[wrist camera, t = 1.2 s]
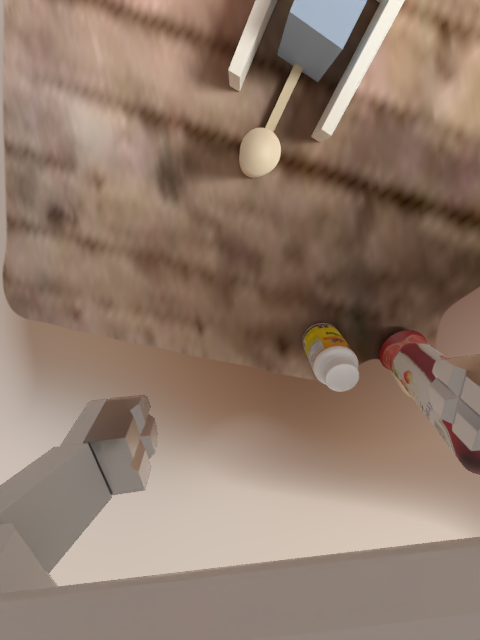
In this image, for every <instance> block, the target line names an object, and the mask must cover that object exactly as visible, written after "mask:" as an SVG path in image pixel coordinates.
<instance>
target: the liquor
mask: <svg viewBox="0 0 480 640" xmlns="http://www.w3.org/2000/svg"><path fill="white" fill-rule="evenodd" d="M379 358H380V361H381V363H382V364H383V366H384V367H386V368H387V369H389V370H391V371H392V372H393V373H394V374H395V376H396V377H397V378H398V379H399V381H400V382H401V383H402V384H403V386H404V387H405V388H406V390H407V391H408V392H409V394H410V395H411V396H412V397H413V399H414V400H415V401H416V403H417V404H418V406H419V407H420V408H421V410H422V411H423V412H424V414H425V415H426V417H427V418H428V419H429V421H430V422H431V424H432V425H433V426H434V428H435V429H436V430H437V432H438V433H439V434H440V436H441V437H442V438H443V439H444V441H445V442H446V443H447V445H448V446H449V447H450V449H451V450H452V451H453V452H454V454H455V455H456V457H457V458H458V459H459V461H460V462H461V463H462V465H463V466H464V467H465V468H466V469H467V470H469V471H471V472H473V473H476V474H479V475H480V450H478V451H471V450H470V449H469V448H468V447H467V446H466V445H465V444H464V443H463V442H462V441H461V440H460V439H459V438H458V437H457V435H456V434H455V433H454V432H453V431H452V424H451V423H449V422H447V421H445V420H443V419H441V418H440V417H439V416H438V415H437V414H436V413H435V412H434V410H433V408H432V406H431V404H430V400H429V396H428V393H429V386H430V384H431V383H432V382H433V381H434V380H435V379H436V377H435V375H434V374H433V373H432V370H433V366H434V364H435V362H436V361H437V360H438V359H446V357H445V356H444V355H442V354H441V353H440V352H438V351H437V350H436V349H434V348H433V347H432V346H430V345H429V344H428V343H427V342H426V339H425V337H424V336H423V335H422V334H420V333H419V332H416V331H411V330H406V331H401V332H398V333H395V334H394V335H392V336H390V337H389V338H388V339H387V340H386V341H385V342H384V343H383V345H382V347H381V349H380V353H379Z"/></svg>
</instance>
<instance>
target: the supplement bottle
mask: <svg viewBox="0 0 480 640" xmlns="http://www.w3.org/2000/svg"><path fill="white" fill-rule="evenodd" d="M302 344H303V347H304V350H305V353H306V355H307V357H308V360H309V362H310V365H311V367H312V369H313V372H314V374H315V376H316V378H317V379H318V380H319V381H320V382H322V383H324V384H326V385H327V386H328V387H329V388H330V389H332V390H334V391H338V392H342V391H347V390H349V389H351V388H352V387H354V386H355V385H356V383H357V382H358V380H359V372H358V359H357V357H356V355H355V353H354V352H353V351H352V349H351V348H350V346H349V345H348V344H347V342H346V341H345V339H344V338H343V337H342V335H341V334H340V332H339V331H338V330H337V329H336V328H335V327H334V326H333V325H331V324H328V323H318V324H315V325H313V326H311V327H310V328H308V329H307V330H306V332H305V333H304V335H303V339H302Z"/></svg>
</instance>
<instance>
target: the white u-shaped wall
mask: <svg viewBox="0 0 480 640" xmlns="http://www.w3.org/2000/svg"><path fill="white" fill-rule="evenodd" d="M377 1H378V2H379V3H380V4H379V6H378V8H377V10H376V12H375V14H374V16H373V18H372V20H371V22H370V24H369V25H368V27H367V29H366V31H365V33H364V35H363V37H362V39H361V41H360V43H359V45H358V47H357V49H356V51H355V52H354V54H353V56H352V58H351V60H350V62H349V64H348V66H347V68H346V70H345V72H344V74H343V76H342V78H341V79H340V81H339V83H338V85H337V87H336V89H335V91H334V93H333V95H332V97H331V99H330V101H329V103H328V104H327V106H326V108H325V110H324V112H323V114H322V116H321V118H320V120H319V122H318V124H317V126H316V128H315V130H314V131H313V133H312V135H311V137H312V138H314V139H315V140H317V141H318V142H321V141H323V140H325V139H326V138H328V137H330V136H331V135H332V134H333V132H334V130H335V128H336V126H337V124H338V123H339V121H340V119H341V117H342V115H343V113H344V111H345V110H346V108H347V106H348V104H349V102H350V100H351V99H352V97H353V95H354V93H355V91H356V89H357V87H358V86H359V84H360V82H361V80H362V78H363V76H364V75H365V73H366V71H367V69H368V67H369V65H370V64H371V62H372V60H373V58H374V56H375V54H376V52H377V51H378V49H379V47H380V45H381V43H382V41H383V40H384V38H385V36H386V34H387V32H388V30H389V28H390V27H391V25H392V23H393V21H394V19H395V17H396V16H397V14H398V12H399V10H400V8H401V6H402V4H403V3H404V1H405V0H377ZM276 3H277V0H255V3H254V5H253V8H252V11H251V13H250V16H249V18H248V21H247V23H246V26H245V28H244V31H243V34H242V36H241V39H240V41H239V44H238V46H237V49H236V51H235V54H234V57H233V59H232V62H231V64H230V67H229V69H228V72H229V86H231V87H232V88H234V89H236V90H237V91H239V92H240V90H241V87H242V85H243V83H244V80H245V78H246V75H247V73H248V70H249V68H250V66H251V63H252V61H253V58H254V56H255V53H256V51H257V49H258V46H259V44H260V41H261V39H262V37H263V34H264V32H265V29H266V27H267V24H268V22H269V20H270V17H271V15H272V12H273V10H274V7H275V5H276Z"/></svg>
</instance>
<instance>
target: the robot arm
mask: <svg viewBox="0 0 480 640" xmlns="http://www.w3.org/2000/svg"><path fill="white" fill-rule="evenodd" d="M432 373H433V374H434V375H435V377H436V379H435V380H434V381H433V382H432V383H431V384H430V386H429V393H428V396H429V400H430V404H431V406H432V408H433V410H434V412H435V413H436V414H437V415H438V416H439V417H440V418H441V419H443V420H445V421H447V422H449V423H451V424H452V431H453V432H454V433H455V434H456V435H457V437H458V438H459V439H460V440H461V441H462V442H463V443H464V444H465V445H466V446H467V447H468V448H469V449H470V450H471V451H478V450H480V354H474V355H470V356H462V357H454V358H446V359H438V360H437V361H436V362H435V364H434V366H433V370H432ZM150 407H151V406H150V402H149V400H148V397H147V396H145V395H138V396H129V397H118V398H110V399H100V400H93V401H90V402H89V403H87V405H86V407H85V408H84V410H83V411H82V413H81V414H80V416H79V417H78V419H77V420H76V422H75V424H74V425H73V427H72V428H71V430H70V431H69V433H68V434H67V436H66V438H65V439H64V441H63V442H62V444H61V445H60V446H59V447H53V448H52V449H51V450H49V451H48V452H47V453H45V454H44V455H42V456H41V457H40V458H38V459H37V460H35V461H34V462H32V463H31V464H30V465H28V466H27V467H25V468H24V469H23V470H21V471H20V472H19V473H17V474H16V475H14V476H13V477H12V478H10V479H9V480H7V481H6V482H5V483H3V484H2V485H0V640H480V537H474V538H465V539H457V540H448V541H440V542H431V543H423V544H414V545H406V546H398V547H389V548H380V549H372V550H364V551H355V552H347V553H338V554H329V555H321V556H313V557H304V558H296V559H288V560H279V561H270V562H262V563H254V564H245V565H236V566H228V567H219V568H211V569H203V570H194V571H186V572H178V573H169V574H160V575H152V576H143V577H135V578H127V579H118V580H111V581H101V582H93V583H84V584H76V585H68V586H59V587H58V586H57V584H56V583H55V582H54V580H53V579H52V577H51V576H50V575H49V573H50V571H51V570H52V569H53V568H54V566H55V565H56V564H57V563H58V562H59V561H60V559H61V558H62V557H63V556H64V555H65V553H66V552H67V551H68V550H69V549H70V547H71V546H72V545H73V544H74V542H75V541H76V540H77V539H78V538H79V536H80V535H81V534H82V532H84V530H85V529H86V528H87V527H88V526H89V524H90V523H91V522H92V521H93V520H94V518H95V517H96V516H97V515H98V513H99V512H100V511H101V510H102V509H103V507H104V506H105V505H106V504H107V503H108V501H109V500H110V499H111V498H112V496H111V495H116V494H123V493H130V492H136V491H143V490H145V489H146V485H147V481H148V478H149V474H150V470H151V465H150V462H149V458H151V456H152V455H153V454H154V453H155V450H156V446H157V435H158V433H157V425H156V421H155V419H154V418H153V417H152V416H150V415H149V411H150Z"/></svg>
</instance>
